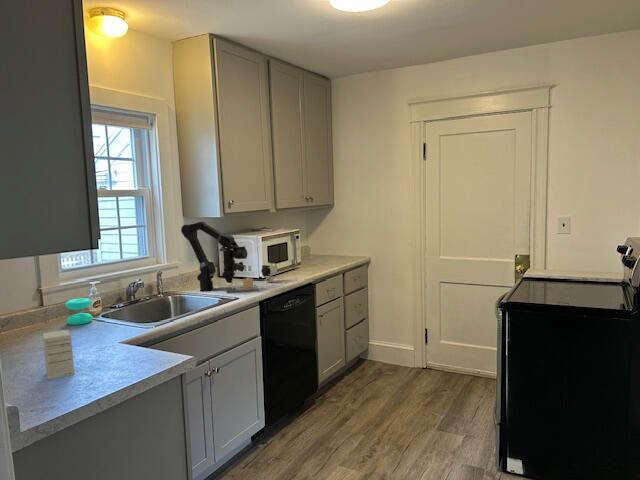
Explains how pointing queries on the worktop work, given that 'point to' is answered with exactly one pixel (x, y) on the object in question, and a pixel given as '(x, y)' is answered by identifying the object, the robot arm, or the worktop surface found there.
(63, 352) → the supplement box
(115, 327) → the worktop surface
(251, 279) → the block
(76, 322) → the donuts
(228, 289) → the ram rail
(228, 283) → the block
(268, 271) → the pneumatic valve
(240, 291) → the plate
